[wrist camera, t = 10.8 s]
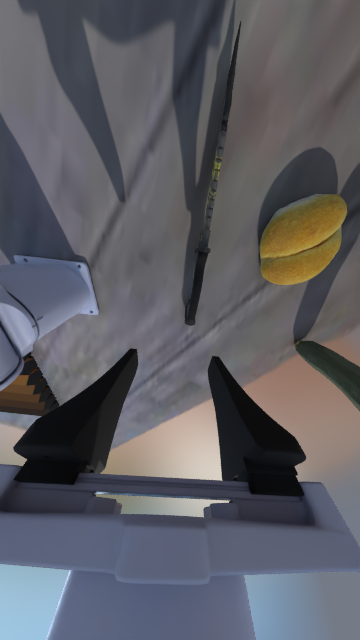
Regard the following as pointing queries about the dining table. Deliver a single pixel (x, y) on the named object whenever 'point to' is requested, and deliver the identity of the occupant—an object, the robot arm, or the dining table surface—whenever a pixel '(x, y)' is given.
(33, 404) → the pan flute
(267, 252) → the bread roll
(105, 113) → the dining table surface
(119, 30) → the dining table surface
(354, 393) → the vegetable
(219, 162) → the knife
